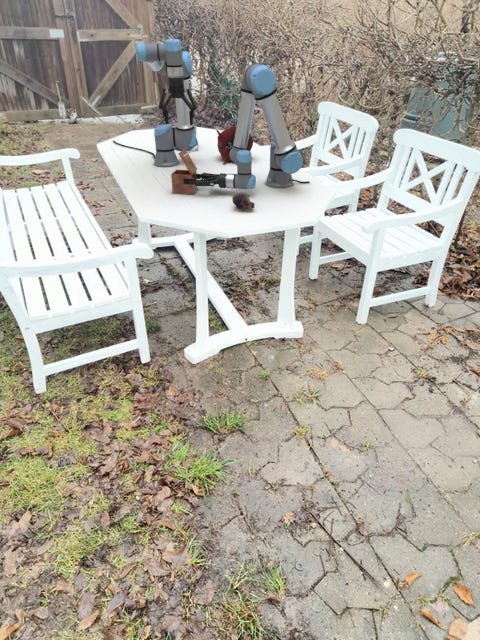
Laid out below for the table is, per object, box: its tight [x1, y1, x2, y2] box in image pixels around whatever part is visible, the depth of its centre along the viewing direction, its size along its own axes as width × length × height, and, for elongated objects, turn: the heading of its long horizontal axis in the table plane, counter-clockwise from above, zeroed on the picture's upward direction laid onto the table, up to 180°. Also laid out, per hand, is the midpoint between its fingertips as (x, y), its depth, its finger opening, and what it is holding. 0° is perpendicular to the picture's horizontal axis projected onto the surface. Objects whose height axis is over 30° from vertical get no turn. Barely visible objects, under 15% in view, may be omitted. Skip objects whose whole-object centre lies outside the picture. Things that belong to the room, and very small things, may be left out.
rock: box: [232, 192, 256, 211], centre depth 223 cm, size 12×9×10 cm
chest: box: [170, 169, 199, 196], centre depth 246 cm, size 12×9×10 cm
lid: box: [178, 145, 199, 174], centre depth 238 cm, size 12×9×8 cm
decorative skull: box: [216, 126, 254, 165], centre depth 296 cm, size 21×24×25 cm
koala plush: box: [174, 137, 199, 151], centre depth 321 cm, size 17×18×20 cm
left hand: (179, 124), depth 229 cm, fingers open, 12 cm apart
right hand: (186, 178), depth 245 cm, fingers closed on chest, 9 cm apart
